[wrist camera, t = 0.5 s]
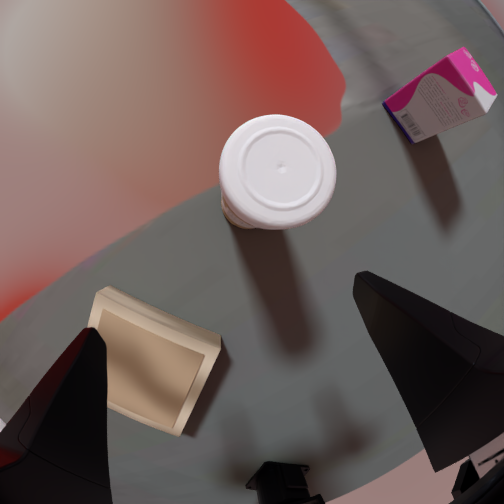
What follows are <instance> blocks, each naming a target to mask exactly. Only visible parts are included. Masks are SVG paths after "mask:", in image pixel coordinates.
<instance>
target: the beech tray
mask: <svg viewBox="0 0 504 504" xmlns="http://www.w3.org/2000/svg"><path fill="white" fill-rule="evenodd" d="M88 327H94V328H96V329H97V331H98V332H99V334H100V335H101V337H102V338H103V340H104V341H105V343H106V346H107V375H108V396H107V407H109V408H111V409H113V410H115V411H117V412H119V413H121V414H123V415H125V416H128V417H130V418H132V419H134V420H137V421H139V422H141V423H144V424H146V425H149V426H151V427H154V428H156V429H159V430H161V431H164V432H167V433H170V434H172V435H175V436H178V437H180V435H181V433H182V430H183V428H184V426H185V424H186V422H187V420H188V418H189V416H190V414H191V412H192V409H193V407H194V405H195V403H196V401H197V399H198V397H199V395H200V392H201V390H202V388H203V386H204V384H205V382H206V380H207V378H208V375H209V373H210V371H211V369H212V367H213V365H214V363H215V360H216V358H217V356H218V354H219V352H220V350H221V335H219V334H216V333H214V332H211V331H209V330H206V329H204V328H202V327H199V326H197V325H194V324H192V323H189V322H187V321H185V320H182V319H180V318H178V317H176V316H173V315H171V314H169V313H167V312H164V311H162V310H160V309H158V308H156V307H153V306H151V305H149V304H147V303H145V302H143V301H141V300H139V299H137V298H135V297H133V296H131V295H129V294H126V293H125V292H123V291H121V290H119V289H117V288H115V287H113V286H111V285H109V286H108V287H106V288H104V289H102V290H100V291H98V292H96V296H95V299H94V303H93V307H92V311H91V315H90V319H89V323H88ZM88 327H87V328H88Z"/></svg>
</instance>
